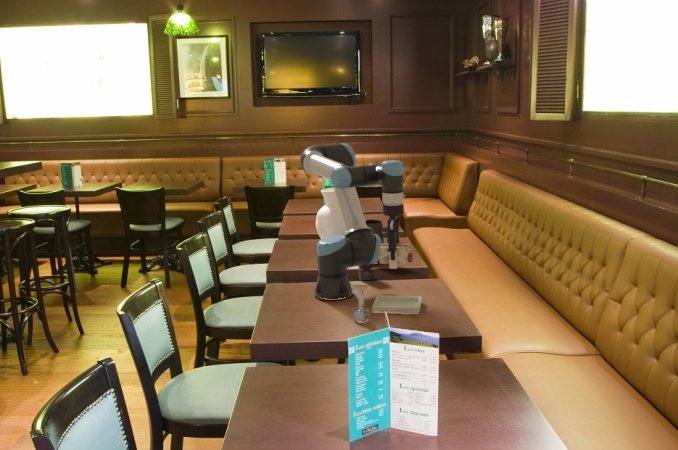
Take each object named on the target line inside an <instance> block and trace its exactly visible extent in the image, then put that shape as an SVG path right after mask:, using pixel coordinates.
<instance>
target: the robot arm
mask: <svg viewBox="0 0 678 450" xmlns="http://www.w3.org/2000/svg"><path fill="white" fill-rule="evenodd" d="M356 158H357V157H356V154H355V151H354V148H353V147H352V146H351V145H349V144H348V143H342V142H335V143H328V144H327V143H325V144H314V145H310V146H309V147H306V149H304V150H303V151H302V152H301V155H300V157H299V165H300V167H301V169H302V170H303V171H304V172H306V173H307V174H309V175H313V176H314V175H318V176H320V177H322V178H324V179H327V180H328V181H331V185H332V186H333V188H334V190H335V193H336V197H337V200H338V204H339V207H340V210H341V214H342V217H343V221H344V224H345V228H346V231H347V232H346V234H345V236H343V235H336V236H335V235H334V236H328V237H325V238H323V239H321V238H320V239H319V241H318V242H317V244H316V259H317V280H316V284H315V288H314V296H315V295H317V296H318V297H321V298H327V299H338V298H344V297H348V296H350V295H351V294H352V295H353V288H352V284H351V282H350V279H349V277H348V268H353V267H359V266H361V265H369V264H372V263H376V262H377V261H378V260H379V259H380V251H379V247H380V246H381V244H382V242H381V239H380V237H379V236H378V235H377V234H373V232H372V229H371V228H370V227H368V226H367V225H366V222H365V220H366V219H365V216H364V211H363V210H362V206H361V202H360V198H359V195H358V191H357V189H356V188H357V187H364V186H365V187H367V186H376V185H379V186H381V187H382V192H381V195H382V196H381V197H382V204H383V205H382V214H383V215H384V216H386V217H388V220H387V226H388V247H389V248H388V250H387V251H389V264H388V265H389V266H388V267H389V269H393V270H394V269H398V264H397V251H396V250H397V249H396V243H399V244H402V243H401V242H400V217H399V216H403V215H404V214H405V209H404V208H405V204H403V203H404V198H405V197H406V194H404V173H405V172H404V171H405V170H404V166H403V165H404V163H403V161H401V160H396V159H395V160H394V159H393V160H392V159H389V160H384V161H383V162H382V163H380V162H372V163H369V164H364V165H357V160H356ZM391 247H393V248H391Z"/></svg>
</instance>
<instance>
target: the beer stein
mask: <svg viewBox="0 0 678 450" xmlns="http://www.w3.org/2000/svg"><path fill="white" fill-rule="evenodd" d="M365 222H366V225H367V226H368V227H370V228H371V229H372V232H373V234H377V235H378V236H379V237H380V239H381V242H382V243H385V242H384V233H386V239H387V241H386V243H388V225H387V226H385V227H383V226H384V224H383V221H382V220H379V219H365ZM376 263H380V259H379V260H378V261H377V262H376Z"/></svg>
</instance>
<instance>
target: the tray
mask: <svg viewBox="0 0 678 450" xmlns="http://www.w3.org/2000/svg"><path fill="white" fill-rule="evenodd" d="M422 300H423V299H422V296H417V295H415V296H414V295H387V294H386V295H379V294H378V295H376V297H375V299H374V301H373V304H372V306H371V312H372V311H380V312H384V311H386V312H388V311H390V312H403V313H416V314H419V315H420V313H419V312H421V308H422V304H421V303H422ZM420 307H421V308H420ZM383 315H389V314H388V313H387V314H385V313H384V314H383Z"/></svg>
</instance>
